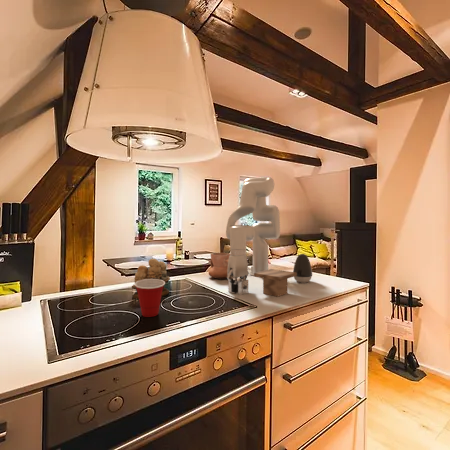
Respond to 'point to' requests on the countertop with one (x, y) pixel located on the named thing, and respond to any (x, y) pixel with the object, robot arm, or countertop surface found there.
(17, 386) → the countertop surface
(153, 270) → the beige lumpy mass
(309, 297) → the countertop surface
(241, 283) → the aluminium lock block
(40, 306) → the countertop surface
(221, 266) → the ceramic jug
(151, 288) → the plastic cup
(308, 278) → the dark egg shaped dome
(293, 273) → the walnut stand
